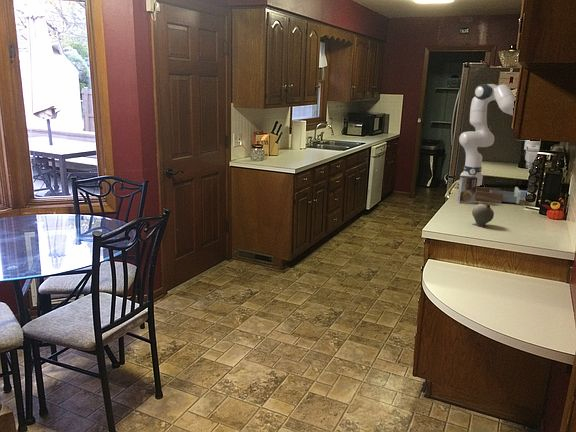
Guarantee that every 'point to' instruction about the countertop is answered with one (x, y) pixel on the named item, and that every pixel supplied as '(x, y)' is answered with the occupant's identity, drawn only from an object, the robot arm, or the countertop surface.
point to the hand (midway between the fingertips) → (528, 168)
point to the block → (523, 194)
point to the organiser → (488, 195)
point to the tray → (509, 195)
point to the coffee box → (467, 189)
